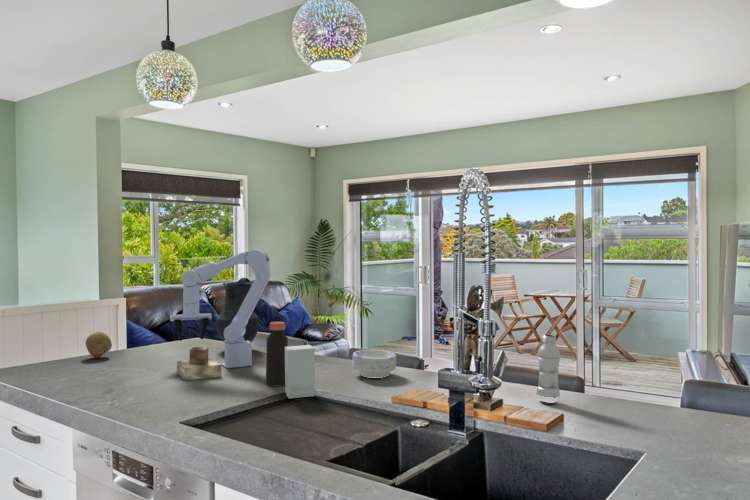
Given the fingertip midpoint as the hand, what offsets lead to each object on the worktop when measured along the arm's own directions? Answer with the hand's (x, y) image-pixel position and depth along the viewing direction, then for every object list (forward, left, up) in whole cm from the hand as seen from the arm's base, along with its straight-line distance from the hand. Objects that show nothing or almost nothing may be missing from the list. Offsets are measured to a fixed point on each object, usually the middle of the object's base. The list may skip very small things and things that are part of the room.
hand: (190, 339), depth 210 cm
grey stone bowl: (-52, +45, -10) cm, 69 cm away
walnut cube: (+1, +16, -5) cm, 17 cm away
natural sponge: (+28, -28, -10) cm, 41 cm away
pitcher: (-25, -21, -10) cm, 34 cm away
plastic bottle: (-81, +97, -10) cm, 127 cm away
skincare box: (-19, +56, -10) cm, 60 cm away
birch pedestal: (+1, +16, -9) cm, 19 cm away
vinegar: (-18, +40, -10) cm, 45 cm away
